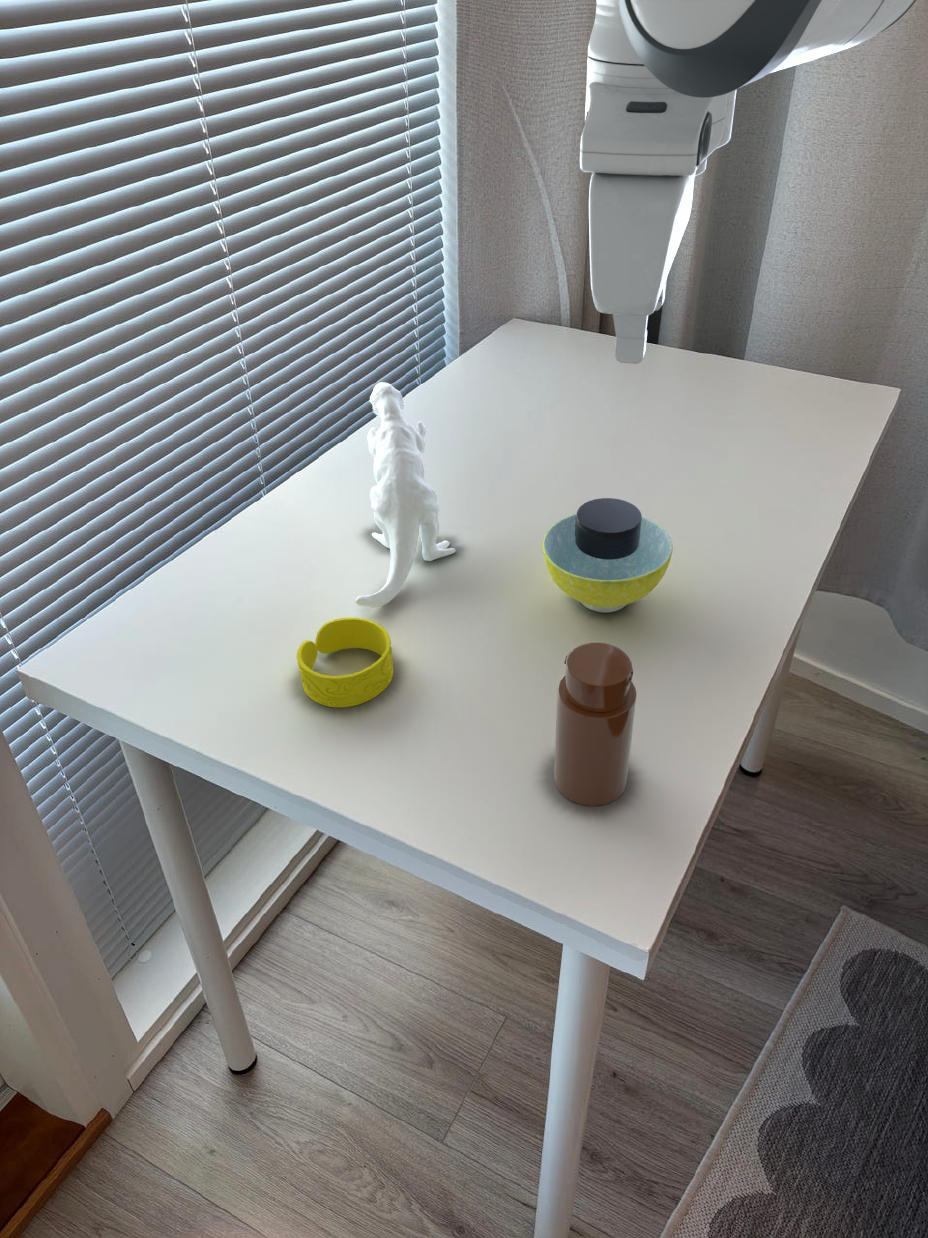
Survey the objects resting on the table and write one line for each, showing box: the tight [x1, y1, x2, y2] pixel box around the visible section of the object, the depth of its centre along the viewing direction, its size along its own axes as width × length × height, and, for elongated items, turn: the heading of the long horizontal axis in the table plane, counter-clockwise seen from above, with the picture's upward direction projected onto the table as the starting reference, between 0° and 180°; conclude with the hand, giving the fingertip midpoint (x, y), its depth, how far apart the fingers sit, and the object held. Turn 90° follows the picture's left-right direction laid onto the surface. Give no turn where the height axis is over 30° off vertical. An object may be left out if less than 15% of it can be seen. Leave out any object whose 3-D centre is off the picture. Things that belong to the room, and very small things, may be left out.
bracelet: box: [296, 617, 394, 708], centre depth 80 cm, size 7×8×3 cm
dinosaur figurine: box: [354, 381, 457, 609], centre depth 89 cm, size 20×10×15 cm, turn 170°
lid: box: [575, 497, 643, 560], centre depth 83 cm, size 6×6×3 cm
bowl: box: [542, 512, 674, 614], centre depth 86 cm, size 11×12×6 cm
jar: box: [553, 642, 637, 807], centre depth 67 cm, size 5×5×12 cm
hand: (640, 331), depth 66 cm, fingers open, 8 cm apart
